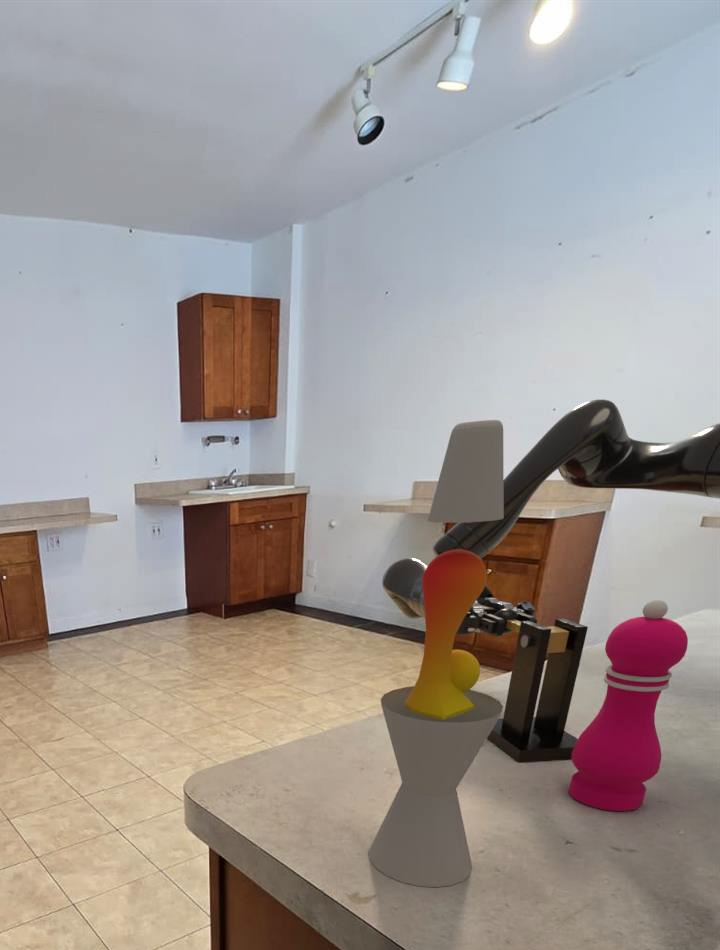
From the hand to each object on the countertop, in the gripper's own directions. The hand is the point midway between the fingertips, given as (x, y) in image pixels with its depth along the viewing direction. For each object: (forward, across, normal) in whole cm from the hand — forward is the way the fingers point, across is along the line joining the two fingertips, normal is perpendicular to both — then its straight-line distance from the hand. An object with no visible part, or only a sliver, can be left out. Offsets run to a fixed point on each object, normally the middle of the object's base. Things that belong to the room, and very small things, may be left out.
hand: (516, 627), depth 80 cm
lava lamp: (+30, -23, +14) cm, 40 cm away
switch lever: (+2, 0, +1) cm, 2 cm away
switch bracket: (+7, 0, +13) cm, 15 cm away
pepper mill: (+21, 0, +13) cm, 25 cm away
